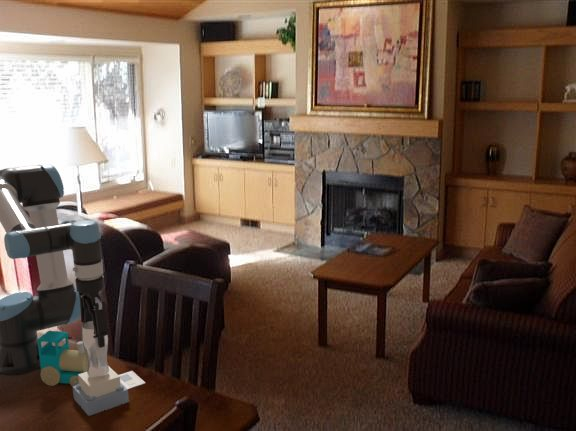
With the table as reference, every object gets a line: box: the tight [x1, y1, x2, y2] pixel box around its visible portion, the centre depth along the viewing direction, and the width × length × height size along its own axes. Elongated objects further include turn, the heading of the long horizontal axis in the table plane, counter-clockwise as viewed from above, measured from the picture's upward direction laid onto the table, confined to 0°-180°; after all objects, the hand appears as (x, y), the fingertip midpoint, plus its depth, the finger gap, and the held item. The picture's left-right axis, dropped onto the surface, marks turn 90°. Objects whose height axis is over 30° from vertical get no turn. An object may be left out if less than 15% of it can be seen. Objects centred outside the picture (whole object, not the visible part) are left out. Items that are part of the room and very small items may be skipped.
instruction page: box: [118, 370, 146, 390], centre depth 193 cm, size 10×7×1 cm
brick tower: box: [72, 365, 130, 417], centre depth 181 cm, size 12×12×8 cm
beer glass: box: [81, 321, 110, 377], centre depth 178 cm, size 7×7×15 cm
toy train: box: [37, 330, 88, 387], centre depth 192 cm, size 8×17×15 cm, turn 80°
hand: (96, 351), depth 178 cm, fingers closed on beer glass, 7 cm apart
